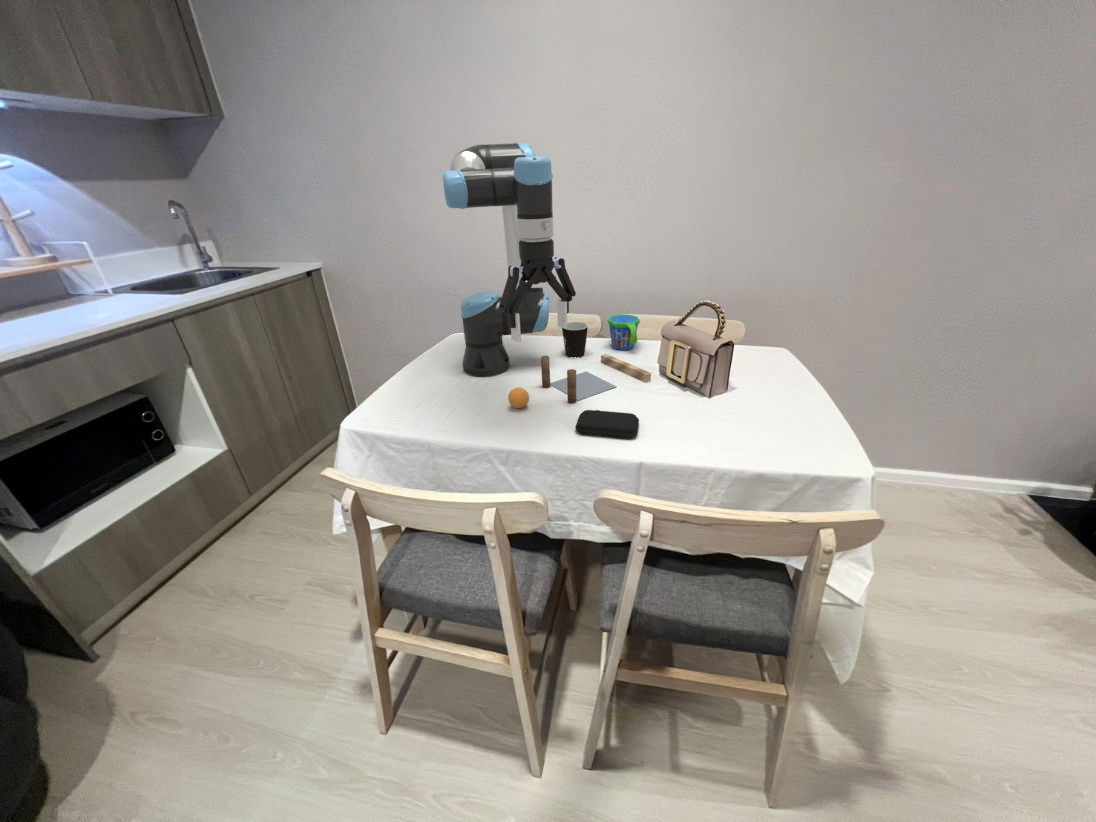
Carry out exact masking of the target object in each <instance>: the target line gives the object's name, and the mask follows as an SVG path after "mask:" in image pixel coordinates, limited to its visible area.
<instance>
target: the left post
mask: <svg viewBox="0 0 1096 822" xmlns="http://www.w3.org/2000/svg"><path fill="white" fill-rule="evenodd" d="M550 365H551V364H550V356H549V355H543V356H541V357H540V368H541V371H540V372H541V386H542V387H541V388H543V389H548V388H551V385H550V383H551V366H550Z"/></svg>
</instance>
